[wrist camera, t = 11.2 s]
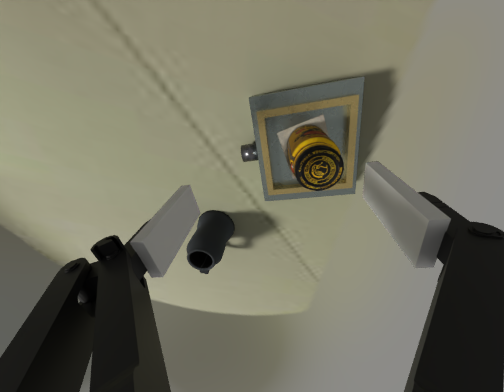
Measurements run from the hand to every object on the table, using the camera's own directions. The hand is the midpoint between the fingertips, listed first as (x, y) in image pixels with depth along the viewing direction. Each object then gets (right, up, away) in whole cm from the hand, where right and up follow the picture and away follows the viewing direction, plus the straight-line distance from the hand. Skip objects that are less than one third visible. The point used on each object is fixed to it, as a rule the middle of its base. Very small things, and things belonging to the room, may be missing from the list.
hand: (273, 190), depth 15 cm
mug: (-11, -9, +35) cm, 37 cm away
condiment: (+7, +7, +17) cm, 20 cm away
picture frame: (+6, +9, +22) cm, 25 cm away
